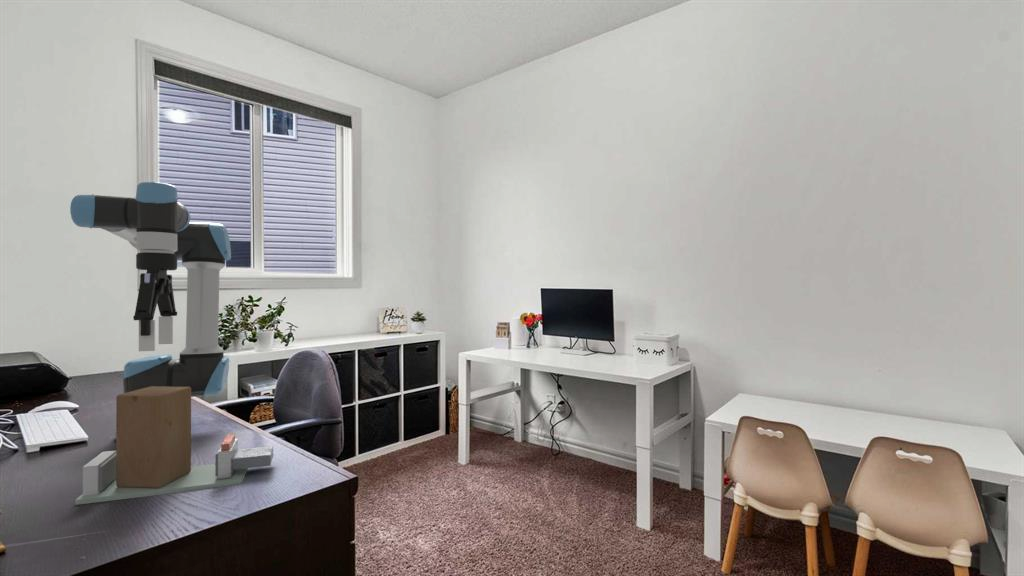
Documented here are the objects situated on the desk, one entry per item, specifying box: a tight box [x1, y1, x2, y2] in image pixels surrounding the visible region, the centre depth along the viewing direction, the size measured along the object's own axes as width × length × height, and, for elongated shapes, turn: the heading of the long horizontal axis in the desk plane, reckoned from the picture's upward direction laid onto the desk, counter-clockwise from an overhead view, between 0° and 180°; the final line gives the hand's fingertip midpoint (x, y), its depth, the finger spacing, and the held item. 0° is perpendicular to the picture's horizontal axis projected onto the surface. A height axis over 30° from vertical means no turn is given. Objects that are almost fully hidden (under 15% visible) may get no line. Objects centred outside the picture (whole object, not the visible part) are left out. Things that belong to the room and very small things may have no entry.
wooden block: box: [115, 386, 192, 488], centre depth 112 cm, size 10×10×20 cm
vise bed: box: [74, 450, 249, 506], centre depth 113 cm, size 14×30×7 cm, turn 111°
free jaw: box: [214, 433, 274, 479], centre depth 119 cm, size 10×11×7 cm
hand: (156, 347), depth 112 cm, fingers open, 13 cm apart
